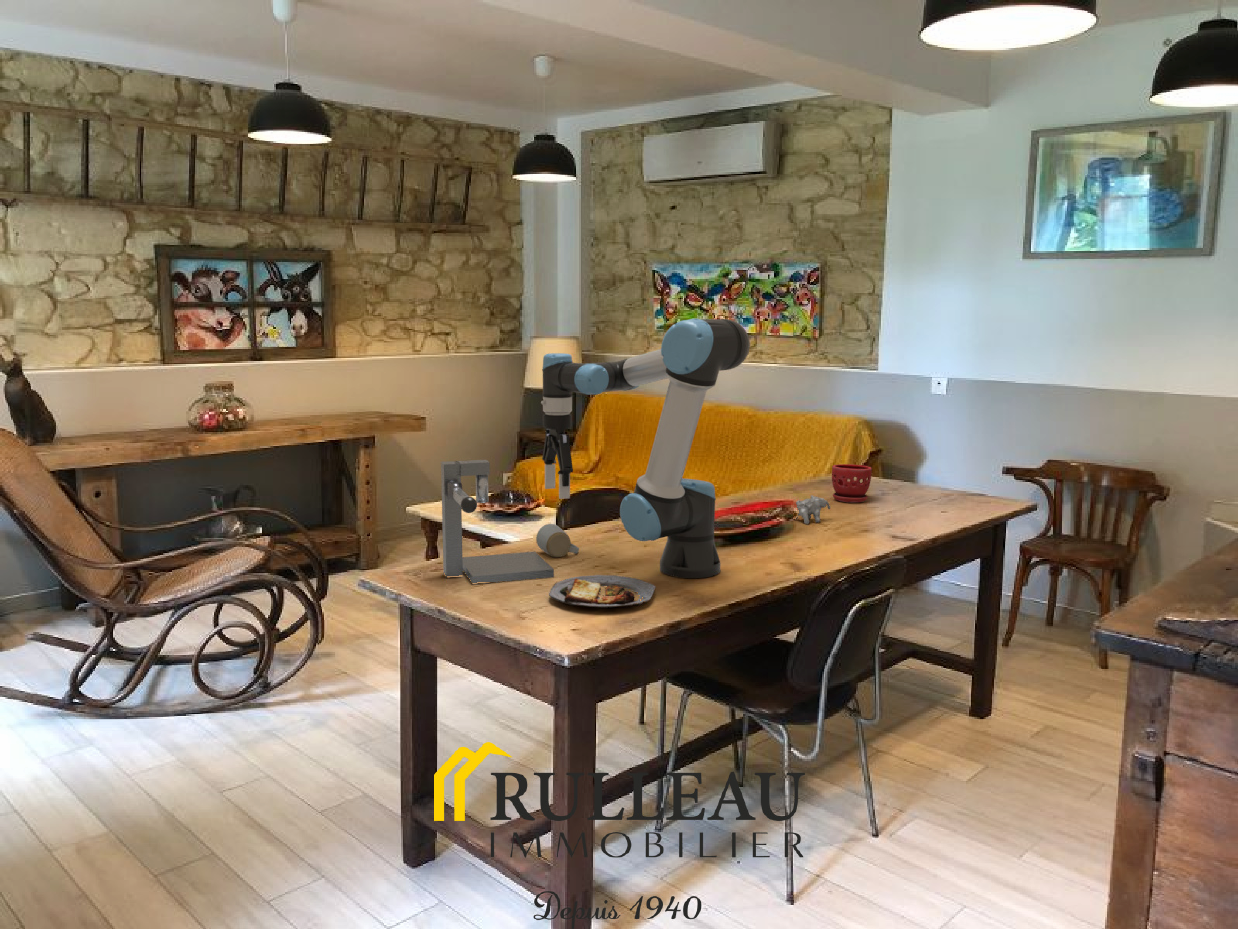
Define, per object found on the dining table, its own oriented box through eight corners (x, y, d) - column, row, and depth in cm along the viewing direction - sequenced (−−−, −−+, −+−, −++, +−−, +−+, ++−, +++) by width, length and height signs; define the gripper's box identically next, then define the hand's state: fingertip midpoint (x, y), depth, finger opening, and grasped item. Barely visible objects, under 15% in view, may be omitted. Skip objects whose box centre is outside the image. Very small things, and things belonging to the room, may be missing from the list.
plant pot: (874, 504, 324) (876, 469, 322) (834, 504, 325) (836, 469, 323) (865, 496, 337) (866, 462, 335) (827, 496, 337) (828, 462, 336)
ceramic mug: (546, 559, 252) (546, 531, 251) (535, 552, 259) (535, 524, 258) (584, 556, 256) (584, 528, 255) (572, 549, 264) (572, 521, 262)
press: (553, 577, 236) (553, 463, 231) (451, 586, 228) (449, 469, 223) (534, 558, 253) (534, 452, 248) (438, 567, 244) (436, 457, 240)
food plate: (645, 617, 206) (645, 601, 206) (539, 612, 210) (539, 596, 210) (660, 587, 231) (660, 572, 230) (564, 583, 235) (564, 568, 234)
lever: (478, 514, 212) (478, 497, 212) (462, 516, 211) (462, 498, 210) (460, 497, 232) (460, 480, 231) (445, 497, 230) (445, 481, 230)
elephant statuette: (787, 522, 299) (788, 498, 298) (811, 514, 307) (811, 490, 306) (812, 527, 293) (812, 503, 291) (835, 519, 301) (836, 495, 299)
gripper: (531, 408, 262) (531, 485, 266) (556, 419, 239) (556, 503, 243) (557, 407, 265) (557, 483, 268) (585, 418, 241) (585, 501, 245)
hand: (557, 493), depth 255 cm, fingers open, 13 cm apart
